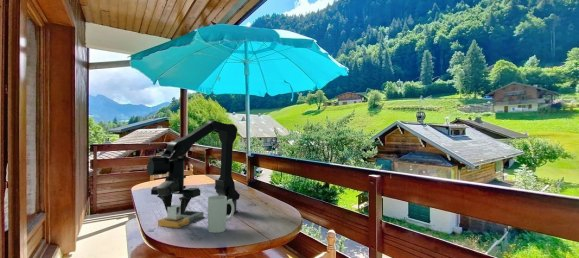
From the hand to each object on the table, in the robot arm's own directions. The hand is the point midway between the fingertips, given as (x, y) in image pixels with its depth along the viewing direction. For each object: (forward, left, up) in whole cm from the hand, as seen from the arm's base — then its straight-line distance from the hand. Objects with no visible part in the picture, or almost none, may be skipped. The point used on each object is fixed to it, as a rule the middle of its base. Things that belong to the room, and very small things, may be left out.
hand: (175, 213), depth 120 cm
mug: (-20, 0, -4) cm, 20 cm away
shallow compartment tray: (0, -4, -4) cm, 6 cm away
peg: (0, 0, -4) cm, 4 cm away
